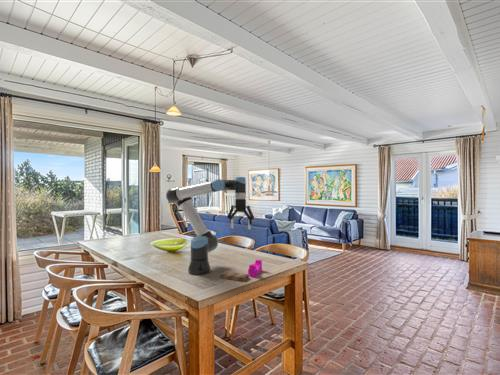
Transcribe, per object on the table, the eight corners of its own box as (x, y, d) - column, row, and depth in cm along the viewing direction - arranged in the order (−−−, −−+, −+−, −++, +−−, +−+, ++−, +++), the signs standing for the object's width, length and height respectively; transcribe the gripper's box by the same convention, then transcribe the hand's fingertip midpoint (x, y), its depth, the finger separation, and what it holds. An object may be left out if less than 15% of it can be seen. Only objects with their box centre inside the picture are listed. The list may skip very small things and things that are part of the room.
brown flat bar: (220, 277, 176) (220, 274, 176) (225, 274, 183) (225, 270, 183) (244, 281, 169) (244, 277, 169) (248, 278, 176) (248, 274, 176)
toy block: (253, 269, 194) (253, 259, 194) (261, 270, 192) (261, 259, 192) (245, 276, 180) (245, 264, 180) (254, 277, 178) (254, 265, 178)
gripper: (222, 198, 196) (222, 228, 196) (254, 199, 186) (254, 230, 186) (227, 198, 203) (227, 226, 203) (258, 198, 193) (258, 228, 193)
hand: (240, 228), depth 195 cm, fingers open, 13 cm apart
